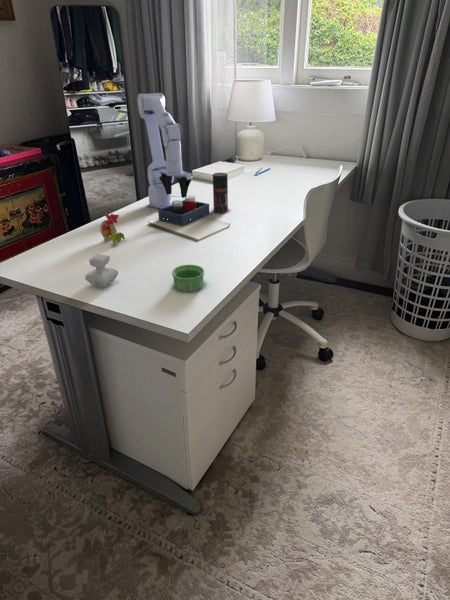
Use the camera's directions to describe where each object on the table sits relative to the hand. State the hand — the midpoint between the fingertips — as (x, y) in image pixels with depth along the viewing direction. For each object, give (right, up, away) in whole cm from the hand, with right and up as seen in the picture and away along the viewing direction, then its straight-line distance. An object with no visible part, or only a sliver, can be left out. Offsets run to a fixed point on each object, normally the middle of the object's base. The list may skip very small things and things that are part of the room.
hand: (176, 195), depth 163 cm
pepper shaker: (0, -8, +4) cm, 9 cm away
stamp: (-16, -36, -42) cm, 58 cm away
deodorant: (+17, -3, +13) cm, 22 cm away
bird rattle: (-21, -20, -15) cm, 33 cm away
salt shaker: (+5, -5, +10) cm, 12 cm away
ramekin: (+9, -36, -44) cm, 57 cm away
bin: (+2, -7, +8) cm, 10 cm away
